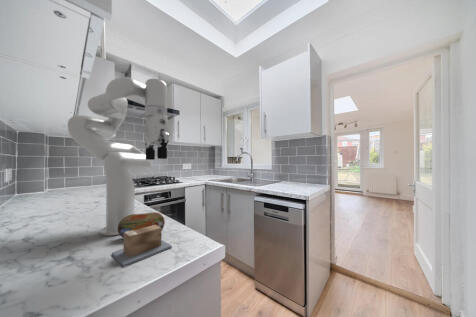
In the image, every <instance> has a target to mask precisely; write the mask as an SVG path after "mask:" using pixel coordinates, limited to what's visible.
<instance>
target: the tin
mask: <svg viewBox="0 0 476 317" xmlns="http://www.w3.org/2000/svg"><path fill="white" fill-rule="evenodd" d="M165 221H166V220H165V218H164V216H163V215H162V214H161V213H160V212H157V211H155V212H143V213H142V212H141V213H134V214H131V215H128V216H126V217H124V218H123V219H122V220H121V221H120V223H119V225H118V233H119V235H118V236H120V237H121V238H123V239H124V233H125V232H127V231H131V230H137V229H141V228H145V227H148V226H152V225H157V226H159V227H161V232H162V231H163V230H164V227H165V224H166V222H165Z"/></svg>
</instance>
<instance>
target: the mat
mask: <svg viewBox="0 0 476 317" xmlns="http://www.w3.org/2000/svg"><path fill="white" fill-rule="evenodd" d="M123 249H124V248H121V249H117V250H115V251H112V252H111V256H113V258H114V259H115V260H116V261H117V262H118V263H119V264H120V265H121V266H122V268H125V267H128V266H130V265H133V264H134V263H137V262H140V261H143V260H145V259H148V258H150V257H152V256H154V255H157V254H159V253H162V252H165V251H167V250H169V249H172V244H169V243H167V242H166V241H164V240H162V239H161V246H159V247H156V248H153V249H151V250H148V251H145V252H142V253H140V254H137V255H134V256H131V257H127V255H126V254H125V253H124V252H123Z"/></svg>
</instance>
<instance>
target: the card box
mask: <svg viewBox="0 0 476 317" xmlns="http://www.w3.org/2000/svg"><path fill="white" fill-rule="evenodd" d="M161 240H162V231H161V227H159V226H157V225H152V226H148V227H145V228H141V229H137V230H131V231H127V232H125V233H124V238H123V248H122V249H123V252H124V253H125V254H126V255H127V257H131V256H134V255H137V254H140V253H142V252H145V251H148V250H151V249H153V248H156V247H159V246H161Z"/></svg>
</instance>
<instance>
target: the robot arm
mask: <svg viewBox="0 0 476 317" xmlns="http://www.w3.org/2000/svg"><path fill="white" fill-rule="evenodd" d="M128 100H129V101H132V102H134V103H138V104H140V105H141V106H142V105H143V106H144V117H145V118H146V120H145V122H146V123H145V132H144V133H145V136H144V137H145V139H144V141H145V144H144V146H145V153H144V152H143V151H141V150H140V149H139V148H137V147H136V146H134V145H133V144H129V143H125V142H118V141H117V142H116V141H110V140H108V139H107V138H110V137H113V136H115V134H116V133H117V132H118V130H119V128H120V127H121V125H122V123H123V122H124V121H125V119H126V116H127V114H128V106H129V105H128V104H129V103H128ZM87 107H88V109H89V110H90V112H92V113H93V114H95V115H98V116H101V117H105V118H107V119H102V118H98V117H95V116H89V115H84V114H83V115H82V114H81V115H73V116H72V117H70V118H68V120H67V130H68V133H69V135H70V137H71V138H72V140H73V141H74V142H76V143H77V144H78V145H79V146H81V147H82V148H84V149H85V150H86V151H87V152H89V153H90V154H91V155H93V156H94V157H95V158H96V159H97V160H98V161H100V162H102V163H103V169H104V172H105V173H104V174H105V178H106V179H105V182H106V191H105V195H106V200H105V202H106V203H105V227H102V229H100V235H102V236H106V237H107V236H120V235H119V233H118V225H119V223H120V221H121V220H122V219H123V218H124V217H126V216H128V215H131V214H135V196H136V195H135V194H136V193H135V192H136V191H135V187H136V186H135V182H134V180H133V179H132V177H131V176H130V175H132V176H133V175H142V174H146V173H148V172H149V171H150V169H151V168H152V162H151V161H154V160H155V158H157V159H160V160H161V159H162V160H166V159H167V158H168V145H169V144H168V143H169V141H170V132H169V131H170V130H169V119H168V86H167V83H166V82H165V81H163V80H161V79H159V78H148V79H147V80H146V81H145V84H144V83H142V82H139V81H138V80H136V79H133V78H132V77H128V76H120V77H118V78H115V79H112V80H111V81H109V83H108V84H107V86H106V88H105V93H101V94H98V95H96V96H92V97H91V98H89V99H88V102H87ZM156 145H157V150H156V149H155V147H156ZM155 150H156V151H157V152H156V151H155ZM156 153H157V155H156Z"/></svg>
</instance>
